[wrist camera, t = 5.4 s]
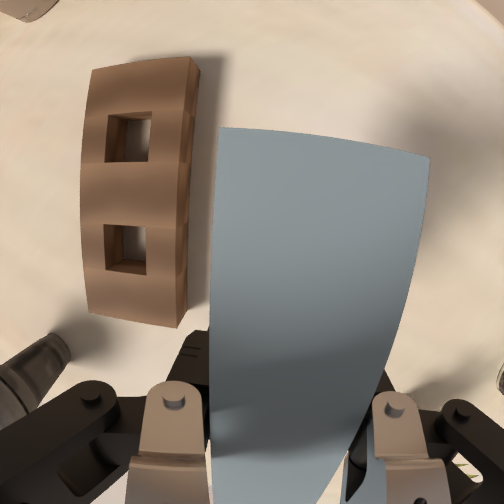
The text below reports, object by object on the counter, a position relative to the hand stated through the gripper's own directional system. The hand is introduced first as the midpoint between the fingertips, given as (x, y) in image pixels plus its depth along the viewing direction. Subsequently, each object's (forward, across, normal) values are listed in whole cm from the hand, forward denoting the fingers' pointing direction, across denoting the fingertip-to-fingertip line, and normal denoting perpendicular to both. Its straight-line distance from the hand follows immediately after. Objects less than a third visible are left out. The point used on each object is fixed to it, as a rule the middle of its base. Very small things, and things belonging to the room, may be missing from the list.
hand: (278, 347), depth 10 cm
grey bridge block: (+2, 0, 0) cm, 2 cm away
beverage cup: (+16, +26, +16) cm, 34 cm away
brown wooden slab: (+16, +12, -4) cm, 20 cm away
